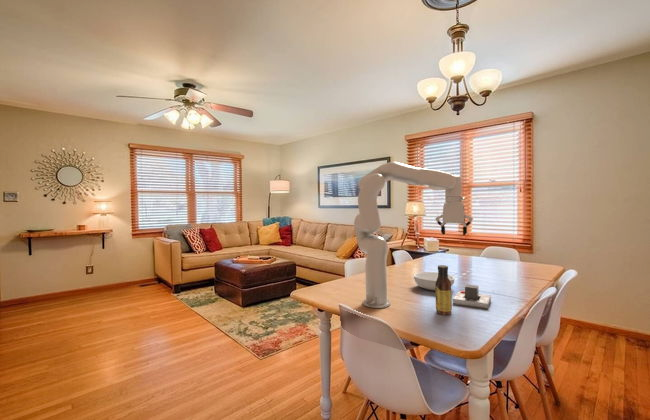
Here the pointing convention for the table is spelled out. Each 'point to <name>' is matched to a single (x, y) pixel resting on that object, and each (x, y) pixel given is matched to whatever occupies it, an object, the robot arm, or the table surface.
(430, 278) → the serving bowl
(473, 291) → the plug
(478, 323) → the table surface
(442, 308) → the sauce bottle
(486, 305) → the socket plate
